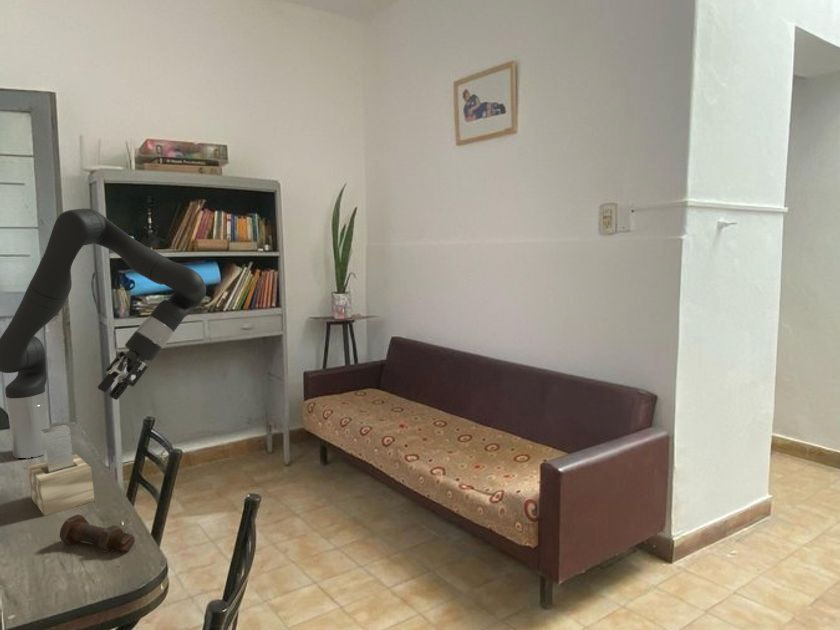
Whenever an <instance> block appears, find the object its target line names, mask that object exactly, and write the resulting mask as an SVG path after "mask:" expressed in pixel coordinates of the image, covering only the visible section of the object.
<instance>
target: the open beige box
mask: <svg viewBox="0 0 840 630" xmlns="http://www.w3.org/2000/svg"><path fill="white" fill-rule="evenodd" d="M73 462H74V467H72V468H68V469H64V470H60V471H56V472H52V473H48V474H46V468H45V461H44V462H41V463H36V464H35V463H34V464H32V465H28V476H29V485H30V492H31V500H32V501H33V502H34V504H35V505H36V506H37V508H38V509H39V510H40V511H41V513H42V515H43V516H44V517H46V516H49V515H53V514H56V513H59V512H62V511H65V510H69V509H72V508H75V507H78V506H79V507H80V506H81V505H86V504H89V503H92V502H95V492H94V491H95V490H94V484H93V483H94V481H93V471H92V467H91V466H90V465H89V464H88V463H87V462H86V461H85V460H83V459H82V458H81V457H80V456H79V455H78V454H73Z"/></svg>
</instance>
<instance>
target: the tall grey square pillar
mask: <svg viewBox="0 0 840 630" xmlns="http://www.w3.org/2000/svg"><path fill="white" fill-rule="evenodd" d="M41 435H42V443H43V452H44V455H43V459H44V462H45V468H46V474H48V473H52V472H56V471H60V470H64V469H68V468H72V467H74V462H73V455H74V454H73V445H72V444H73V443H72V438H71V437H72V436H71V428H70V427H69V426H68V425H67V424H64V425H58V426H53V427H50V428H48V429H43V430H41Z"/></svg>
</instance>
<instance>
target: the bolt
mask: <svg viewBox="0 0 840 630" xmlns="http://www.w3.org/2000/svg"><path fill="white" fill-rule="evenodd" d="M59 538H60V540H61V541H62V542H63V543H64V544H65V545H67V546H68V545H69V546H72V545H75V544H76V543H77V542H84V543H88V544H92V545H96V546H99V549H101V550H102V551H103V552H104V551H105V553H108V552H109V553H112V552H114V551H115V550H117V551H120V552H128V551H130V550H131V549H132V547H133V546H134V544H135V541H136V539H135V536H134V534H131V533H126V532H124V530H123V529H122V528H121V526H119V525H111V526H109V527H108V526H107V527H101V526H98V525H93V524H90V523H89V521H88V520H87V519H86V518H85V517H84V515H82V514H75V515H73V516H70V517H69V518H67V519H66V520H65V521H64V522H63V523H62V525H61V527H60V530H59ZM113 550H114V551H113ZM111 551H112V552H111Z"/></svg>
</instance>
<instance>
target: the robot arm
mask: <svg viewBox="0 0 840 630" xmlns="http://www.w3.org/2000/svg"><path fill="white" fill-rule="evenodd" d="M93 244H95V245H99V246H101V247H104V248H106V249H109V250H110V251H112V252H114V253H115V254H116V255H118V256H119V257H120V258H121V259H122V260H123V262H124V263H125V264H126V265H127V266H128V267H129V268H130V269H131V270H133V271H135V273H137V274H139V275H140V276H142V277H143V278H146V279H148V280H150V281H151V282H153V283H155V284H157V285H164V286H166V287H168V288H169V289H171V290H173V291H175V292H174V293H173V294H172V295H171V296H170V297H169V298H168V299H163V300H161V301H159V303H158V304H157V305H156V306H155V308H154V309H153V311H152V312H151V313H150V314H149V316H147V317H146V318H145V319H144V320H143V321H142V323H140V325H139V326H138V327H137V329H136V330H135V331H134V332H133V334H132V335H131V336H130V338H129V339H128V340H127V341H126V342H125V344H124V346H125V348H126V349H127V350H128V351H127V352H124V351H120V352H119V353H118V354H117V356H116V357H114V359H113V361H111V363H110V364H109V365H108V366H107V368H106V369H105V371H106V374H105V375H106V376H105V377H103V379H102V380H101V382H100V383H99V384H98V385H97V389H98V390H100V391H102V392H103V393H106V392H107V391H108V390H109V389H110V388H111V387H112V385H113V384H114V382H115V381H116V380H117V379H118V378H119V377H120V378H119V381H118V382H117V383H116V384H115V386H114V387H113V388H112V389H111V390H110V392H109V393H108V396H109V397H110V398H111V399H113V400H116V401H117V400H118V399H120V397H121V396H122V395H123V393H124V392H125V390H127V388H130V387H134V386H136V384H137V383H138V382H139V380H140V378H141V377H142V375H143V374H144V373H145V371H146V370H147V369H148V368H149V364H148V363H145V361H147V362H149V363H152V362H153V361H154V360H155V359H156V357H157V356H158V355H159V353H160V352H161V351H162V349H163V348H164V347H165V346H166V344H167V343H168V342H169V340H170V339H171V337H172V336H173V333H174V332H175V331H176V329H178V327H179V326H180V325H181V323H182V322H183V320H184V318H186V317H187V316H188V315H189V314H191V313H192V312H193V311H194V310H195V309H196V308H197V307H198V306H199V305H200V304H201V303H202V301H203V300H204V298H205V297H206V295H207V286H206V283H205V282H204V279H203V277H202V276H201V274H199V272H198V271H195V270H194V269H192V268H190V267H188V266H186V265H183V264H181V263H178V262H175V261H172V260H170V259H169V258H168V257H166V256H164V255H162V254H160V253H158V252H157V251H155V250H154V249H151V248H149V247H148V246H146V245H145V244H143V243H141V242H139V241H138V240H136V239H135V238H133V237H132V236H130V235H129V234H128V233H127V232H125V230H122V229H121V228H120V227H118V226H117V225H116V224H114V223H113V222H112V221H111V220H109V219H108V218H107V217H105V216H104V215H103V214H102V213H100V212H98V211H97V210H95V209H92V208H77V209H76V208H75V209H70V210H69V209H68V210H65V211H63V212H62V213H60V214H59V216H58V217H57V218H56V220H55V222H54V224H53V227H52V229H51V234H50V236H49V240H48V242H47V245H46V248H45V251H44V253H43V256H42V257H41V260H40V261H39V263H38V266H37V269H36V271H35V273H34V275H33V276H32V277H31V280H30V282H29V284H28V286H27V289H26V291H25V292H24V295H23V297H22V299H21V301H20V303H19V306H18V307H17V309H16V311H15V313H14V315H13V317H12V319H11V321H10V322H9V324H8V325H7V326H6V328H5V330H4V331H3V334H2V335H1V336H0V372H1V373H4V374H13V373H17V375H16V377H15V378H14V379H13V380H12V381H11V382H9V383H8V384H7V385H6V386H5V389H4V392H5V399H6V400H5V402H6V408H7V414H8V422H9V423H8V424H9V431H10V440H11V448H12V455H13V456H14V457H15V458H14V457H13V458H14V459H18V458H26V459H31V457H33V458H37V457H40V456H44V452H43V443H42V435H41V430H43V429H48V428H51V427H50V420H49V418H50V417H49V411H48V409H49V408H48V402H47V395H46V394H47V393H46V384H47V380H48V375H47V374H48V372H47V357H46V355H47V354H46V350H45V347H44V344H43V342H42V340H41V339H39V338H38V337H37V336H35V335H36V334H37V333H39V332H40V331H41V330H42V329H43V328H44V327H45V326H46V325H47V324H49V322H50V321H52V320H53V319H54V318H55V317H56V316H57V315H58V314H59V313H60V312H61V311H62V309H63V308H64V305H65V303H66V302H67V299H68V297H69V296H70V293H71V290H72V284H73V282H72V273H71V272H72V271H71V270H72V266H73V263H74V261H75V260H76V258H77V255H78V254H79V252H80V250H81V249H82V248H83V247H84V246H88V245H93Z"/></svg>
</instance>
